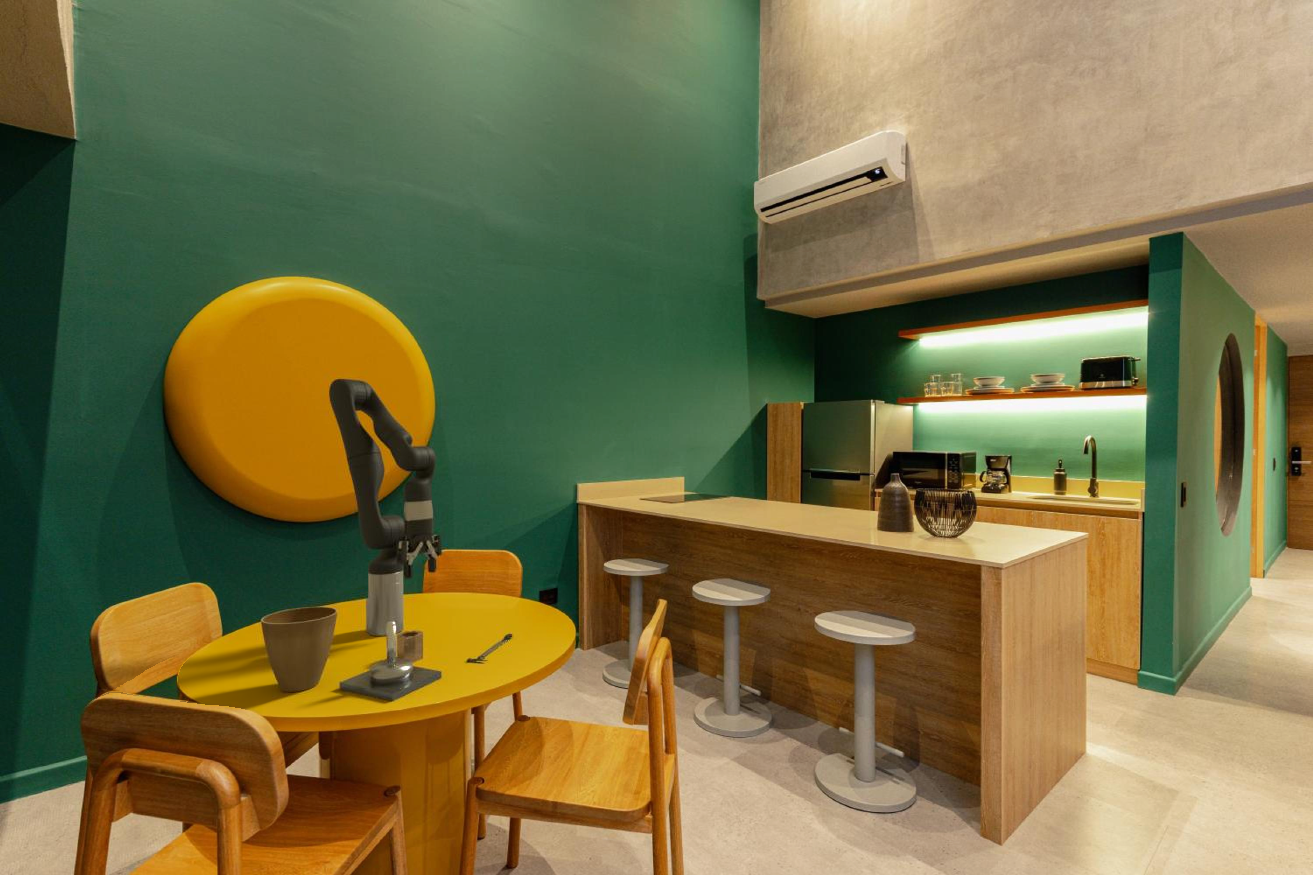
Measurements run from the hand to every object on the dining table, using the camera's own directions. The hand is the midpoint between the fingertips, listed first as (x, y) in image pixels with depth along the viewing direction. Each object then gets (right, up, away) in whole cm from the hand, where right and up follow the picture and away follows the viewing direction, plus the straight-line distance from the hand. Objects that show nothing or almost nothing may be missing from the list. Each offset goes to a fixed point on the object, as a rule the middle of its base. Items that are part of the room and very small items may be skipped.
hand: (420, 575), depth 174 cm
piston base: (+6, -17, -34) cm, 38 cm away
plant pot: (-14, -17, -35) cm, 41 cm away
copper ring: (+4, -17, -17) cm, 25 cm away
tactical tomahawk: (+24, -18, -11) cm, 32 cm away
